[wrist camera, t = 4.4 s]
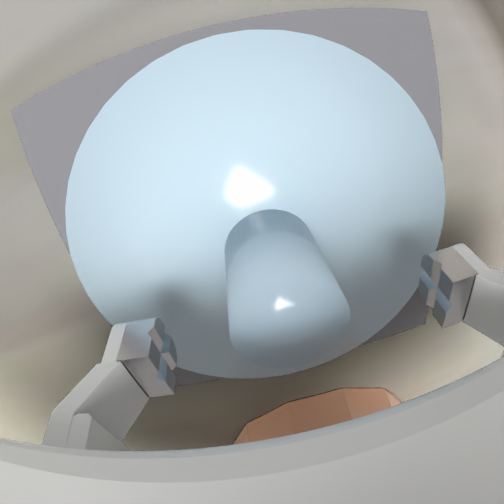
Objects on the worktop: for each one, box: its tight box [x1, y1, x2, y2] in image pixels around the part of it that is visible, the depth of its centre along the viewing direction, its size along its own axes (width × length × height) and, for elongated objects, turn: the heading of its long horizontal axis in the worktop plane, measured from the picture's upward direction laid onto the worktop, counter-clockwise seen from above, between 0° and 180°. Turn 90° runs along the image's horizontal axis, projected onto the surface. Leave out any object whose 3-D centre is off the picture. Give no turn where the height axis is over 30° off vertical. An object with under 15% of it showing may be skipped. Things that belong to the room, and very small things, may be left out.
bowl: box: [234, 388, 401, 444], centre depth 20 cm, size 14×14×7 cm
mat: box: [11, 8, 442, 386], centre depth 13 cm, size 16×16×1 cm
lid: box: [65, 30, 445, 379], centre depth 10 cm, size 15×15×5 cm
